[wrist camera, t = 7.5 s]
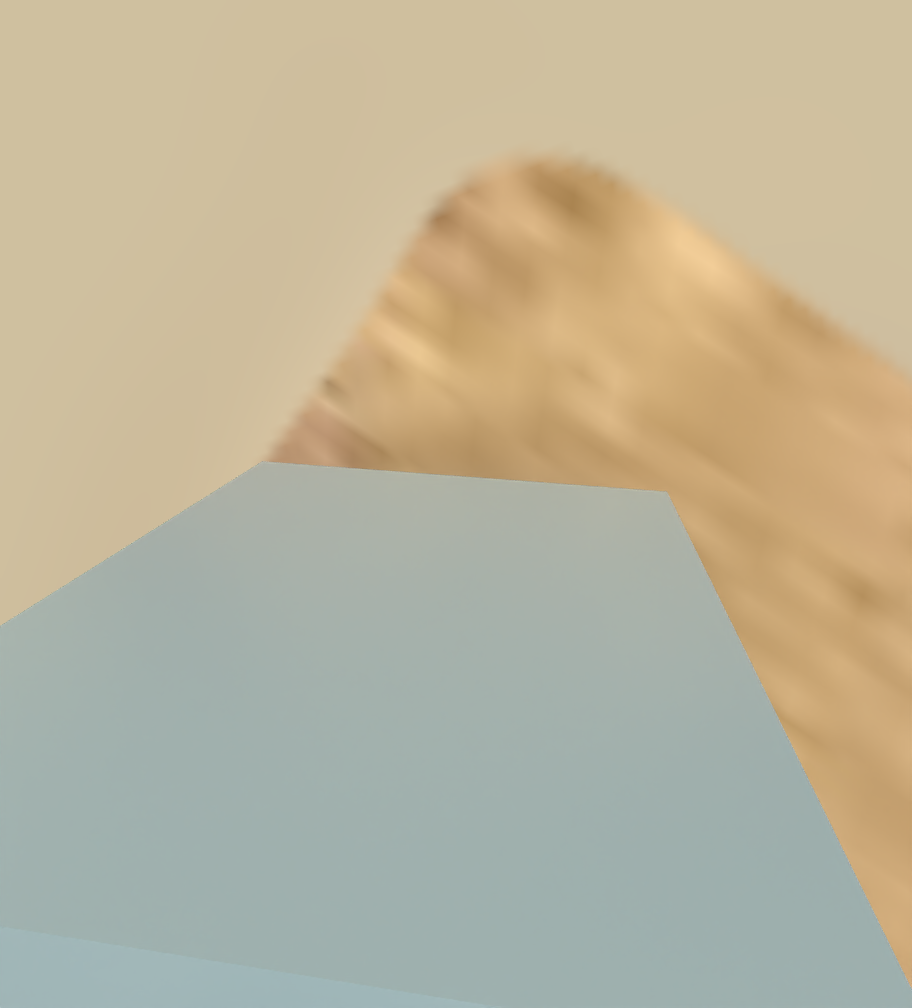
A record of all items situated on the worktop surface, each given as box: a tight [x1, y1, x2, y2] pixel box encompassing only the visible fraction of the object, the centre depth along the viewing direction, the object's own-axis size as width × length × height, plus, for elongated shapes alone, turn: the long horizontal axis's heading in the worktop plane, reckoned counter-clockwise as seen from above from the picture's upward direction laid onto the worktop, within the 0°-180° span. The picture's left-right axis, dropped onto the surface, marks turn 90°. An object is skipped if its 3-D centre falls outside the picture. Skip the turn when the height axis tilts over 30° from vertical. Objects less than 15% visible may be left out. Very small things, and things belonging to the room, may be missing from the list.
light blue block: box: [0, 461, 912, 1008], centre depth 9 cm, size 7×10×9 cm
